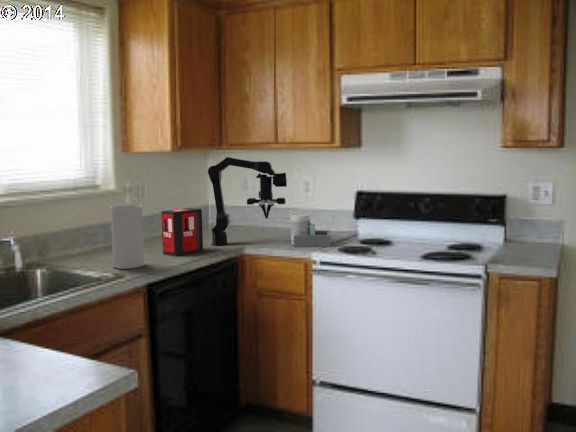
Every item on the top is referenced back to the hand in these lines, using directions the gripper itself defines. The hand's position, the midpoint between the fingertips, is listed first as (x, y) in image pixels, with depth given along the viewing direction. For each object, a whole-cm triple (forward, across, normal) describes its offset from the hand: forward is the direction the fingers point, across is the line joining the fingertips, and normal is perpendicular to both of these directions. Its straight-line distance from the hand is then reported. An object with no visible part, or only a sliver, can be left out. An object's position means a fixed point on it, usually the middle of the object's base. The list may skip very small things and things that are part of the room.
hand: (266, 218), depth 300 cm
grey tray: (+13, -22, 0) cm, 25 cm away
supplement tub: (+13, -17, 0) cm, 21 cm away
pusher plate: (+13, -23, 0) cm, 27 cm away
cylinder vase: (+13, +53, +53) cm, 76 cm away
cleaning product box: (+13, +37, +22) cm, 45 cm away
